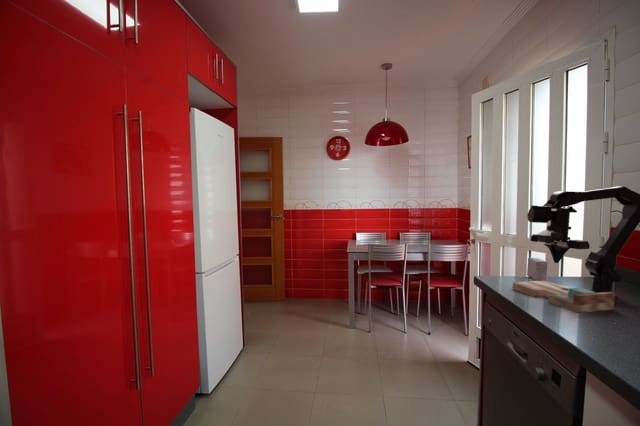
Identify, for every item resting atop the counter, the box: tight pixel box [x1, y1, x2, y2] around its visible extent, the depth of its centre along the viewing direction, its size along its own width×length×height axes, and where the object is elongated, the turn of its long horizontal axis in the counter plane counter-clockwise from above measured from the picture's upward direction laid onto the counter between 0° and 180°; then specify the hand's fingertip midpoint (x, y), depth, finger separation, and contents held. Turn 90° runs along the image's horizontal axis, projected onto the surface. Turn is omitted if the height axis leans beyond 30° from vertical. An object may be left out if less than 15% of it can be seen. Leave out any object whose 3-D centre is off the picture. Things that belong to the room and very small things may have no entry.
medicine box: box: [526, 257, 548, 281], centre depth 134 cm, size 8×4×9 cm, turn 168°
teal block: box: [568, 287, 596, 299], centre depth 102 cm, size 5×5×3 cm
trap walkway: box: [511, 280, 616, 314], centre depth 109 cm, size 16×24×6 cm, turn 14°
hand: (556, 262), depth 118 cm, fingers closed
